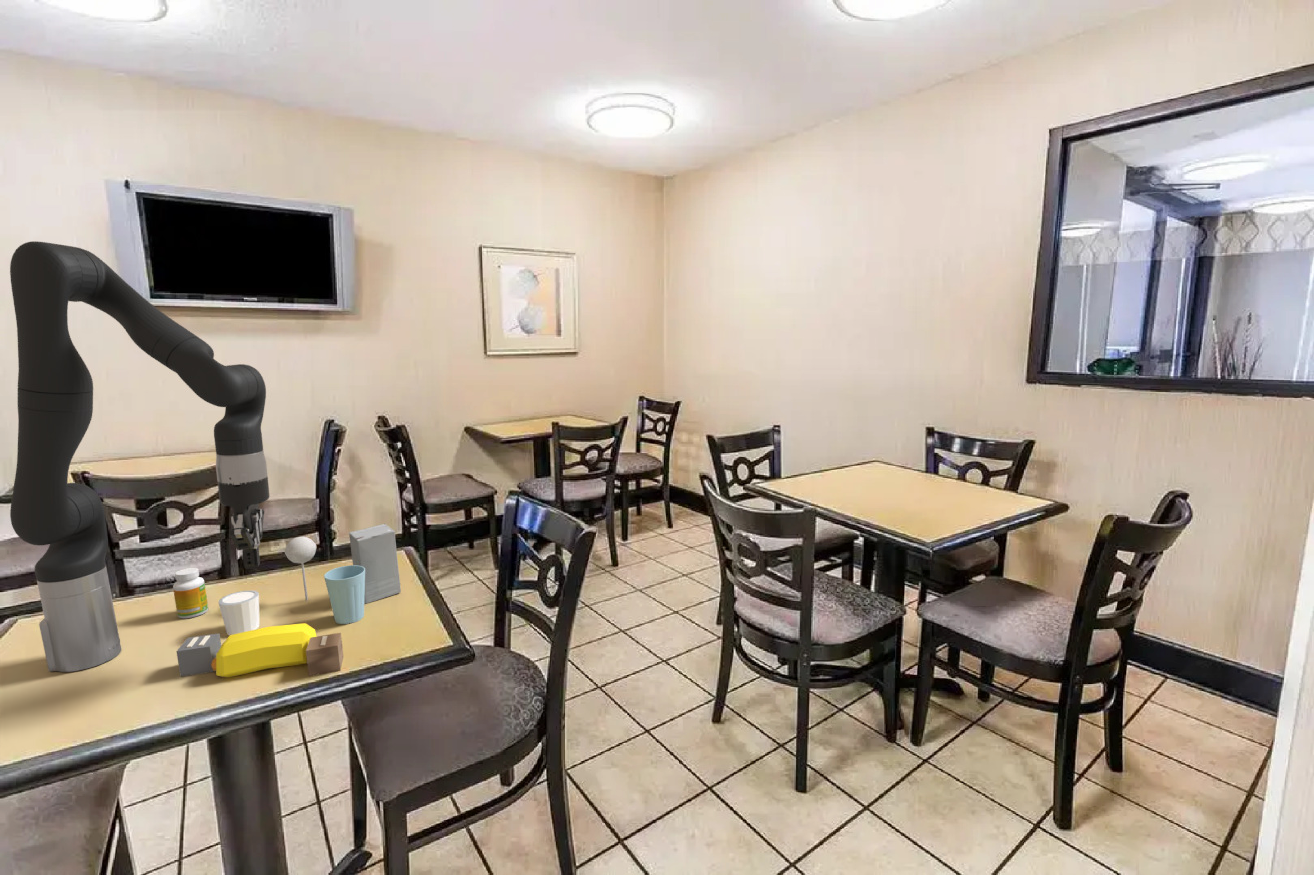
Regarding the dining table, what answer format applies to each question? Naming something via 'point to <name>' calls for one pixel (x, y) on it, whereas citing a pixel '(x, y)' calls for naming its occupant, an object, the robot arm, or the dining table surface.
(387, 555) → the skincare box
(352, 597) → the cup
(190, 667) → the charcoal numbered block
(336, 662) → the walnut numbered block
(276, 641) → the yellow banana
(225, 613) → the shot glass
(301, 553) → the lollipop
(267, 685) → the dining table surface
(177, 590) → the supplement bottle
